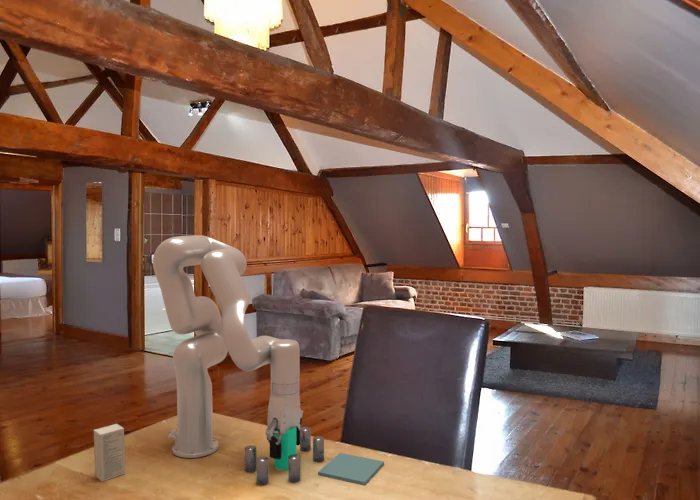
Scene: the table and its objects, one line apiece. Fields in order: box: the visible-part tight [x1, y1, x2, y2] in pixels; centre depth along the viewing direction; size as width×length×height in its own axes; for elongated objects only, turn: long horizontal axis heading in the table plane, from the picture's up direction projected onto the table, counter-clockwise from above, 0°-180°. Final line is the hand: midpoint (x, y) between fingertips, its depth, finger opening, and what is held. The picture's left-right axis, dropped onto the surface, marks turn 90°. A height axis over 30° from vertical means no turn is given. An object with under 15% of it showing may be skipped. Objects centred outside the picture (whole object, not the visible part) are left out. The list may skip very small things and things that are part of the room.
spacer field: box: [244, 426, 325, 486], centre depth 153 cm, size 16×25×6 cm, turn 156°
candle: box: [273, 427, 297, 471], centre depth 153 cm, size 6×6×12 cm
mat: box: [317, 452, 385, 486], centre depth 151 cm, size 13×13×1 cm
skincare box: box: [93, 423, 126, 482], centre depth 146 cm, size 6×4×12 cm
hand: (285, 450), depth 153 cm, fingers open, 9 cm apart
